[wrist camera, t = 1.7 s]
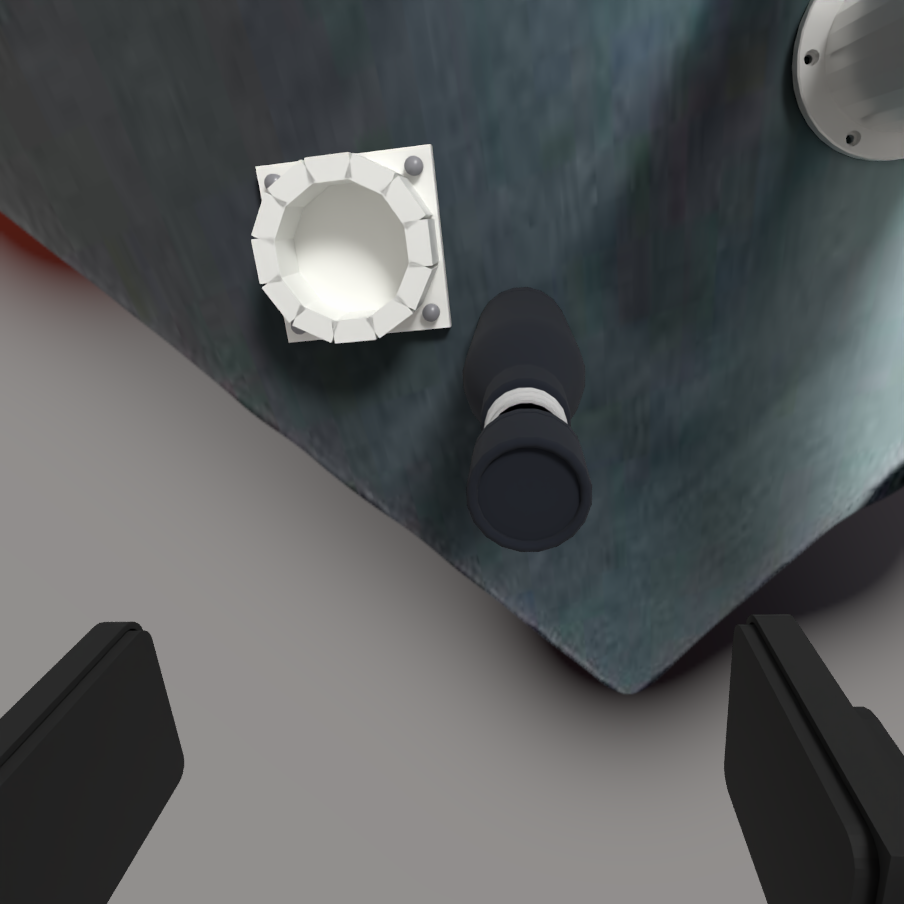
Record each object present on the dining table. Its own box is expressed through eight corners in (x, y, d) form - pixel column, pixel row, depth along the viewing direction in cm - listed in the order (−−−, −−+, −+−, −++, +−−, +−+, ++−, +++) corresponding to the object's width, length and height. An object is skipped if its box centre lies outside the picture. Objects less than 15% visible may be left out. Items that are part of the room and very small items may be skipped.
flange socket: (432, 145, 45) (422, 137, 40) (451, 324, 49) (444, 337, 44) (260, 167, 46) (232, 162, 42) (292, 340, 50) (269, 353, 46)
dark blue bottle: (573, 292, 47) (656, 410, 19) (558, 380, 50) (614, 602, 21) (482, 281, 48) (434, 382, 20) (472, 370, 50) (415, 575, 22)
